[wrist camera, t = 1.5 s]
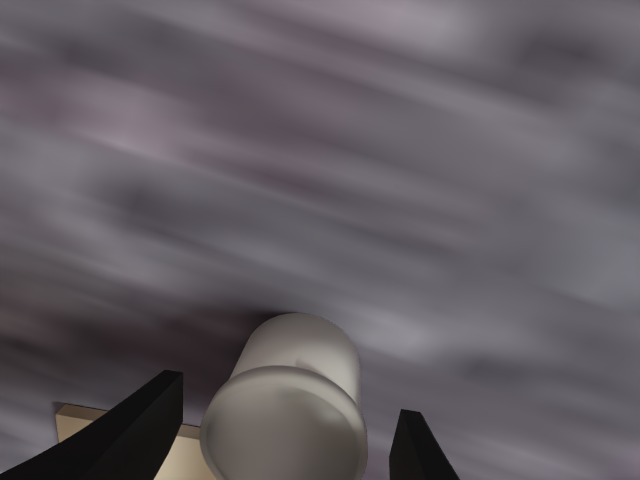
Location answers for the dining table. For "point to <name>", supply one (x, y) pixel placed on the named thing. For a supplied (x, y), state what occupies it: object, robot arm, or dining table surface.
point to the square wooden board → (180, 464)
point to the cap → (289, 406)
